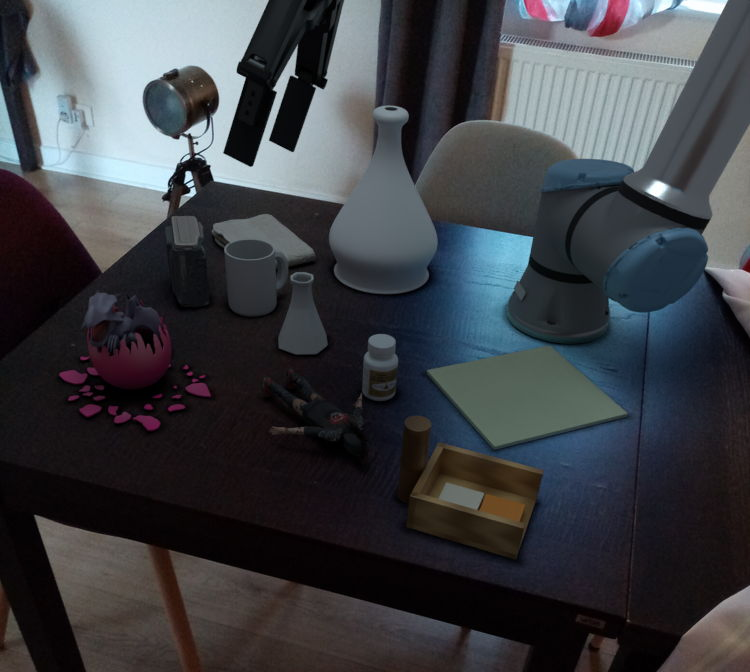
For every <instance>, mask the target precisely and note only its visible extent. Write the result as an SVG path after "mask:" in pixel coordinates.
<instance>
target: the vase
mask: <svg viewBox="0 0 750 672" xmlns="http://www.w3.org/2000/svg"><path fill="white" fill-rule="evenodd" d="M409 118H410V115H409V112H408V111H407V110H406V109H405V108H403V107H401V106H397V105H382V106H378V107H376V108H374V110H373V112H372V119H373V121H374V122H375V123H376V124H377V131H378V133H377V140H376V145H375V148H374V152H373V155H372V157H371V160H370V162H369V164H368V165H367V168H366V169H365V171H364V172H363V175H362V176H361V178H360V179H359V180H358V182H357V184H356V186H355V187H354V188H353V190H352V191H351V193H350V195H349V196H348V198H347V199H346V201H345V203H344V204H343V206H342V207H341V209H340V210H339V212H338V214H337V215H336V217H335V218H334V220H333V223H332V225H331V227H330V230H329V232H328V243H329V247H330V251H331V252H332V254H333V257H334V258H335V260H336V263H335V264H334V267H333V273H334V276H335V277H336V279H337V280H338V281H339V282H341V283H342V284H344V285H345V286H347V287H349V288H351V289H355V290H357V291H360V292H364V293H370V294H379V295H394V294H395V295H397V294H403V293H408V292H412V291H415V290H417V289H418V288H421V287H422V286H423V285H425V284H426V283H427V282H428V280H429V276H430V273H429V270H428V266H429V265H430V263H431V261H432V260H433V259H434V257H435V255H436V253H437V250H438V245H439V244H438V243H439V242H438V234H437V231H436V227H435V225H434V223H433V221H432V219H431V216H430V214H429V212H428V209H427V208H426V206H425V203H424V202H423V200H422V198H421V196H420V193H419V192H418V189H417V188H416V184H415V183H414V181H413V179H412V177H411V174H410V173H409V170H408V166H407V164H406V162H405V158H404V154H403V149H402V147H403V146H402V129H403V126H404V125H405V124H407V123H408V122H409Z"/></svg>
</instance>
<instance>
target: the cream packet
mask: <svg viewBox="0 0 750 672" xmlns="http://www.w3.org/2000/svg"><path fill="white" fill-rule="evenodd" d="M483 498H484V493H482V492H479V491H475V490H472V489H468V488H465V487H461V486H457V485H454V484H450V483H446V484H445V486H444V488H443V490H442V492H441V494H440V496H439V498H438V499H441V500H444V501H448V502H451V503H455V504H458V505H462V506H465V507H469V508H472V509H476V510H479V509H480V507H481V504H482V502H483Z"/></svg>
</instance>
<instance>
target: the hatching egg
mask: <svg viewBox="0 0 750 672" xmlns="http://www.w3.org/2000/svg"><path fill="white" fill-rule="evenodd" d="M122 296H123V295H122V294H120V293H116V294H108V293H106V292H100V291H99V290H95V293H94V295H92V296H90V297H89V299H88V309H87V310H86V313H85V315H84V319H83V323H82V324H81V326H80V330H83V329H85V328H87V333H86V339H87V349H88V350H87V351H88V356H80V360H81V361H88V360H89V359H90V362H91V364H92V366H93V367H87V368H86V371H87V372H85V373H80V372H78V371H77V370H76V369H72V370H66V371H61V372H59V374H58V375H59V377H60V378H61V379H62V380H63V381H64V382H66V383H68V384H71V385H74V386H75V385H76V386H77V385H83V384H84V383H85V382H86V381H87V378H88V376H89V375H90V376H96V377H97V376H99V377H101V379H103V380H104V381H105V382H107V383H108V384H109V385H112V386H114V387H115V388H119V389H122V390H123V389H124V390H132V391H133V390H140V389H145V388H148V387H150V386H153V385H154V384H156V383H157V382H158V381H160V380H161V379H162V378H163V377H164V375H165V374H166V372H167V371H168V369H169V368H170V367H171V366H172V364H170V363H171V359H172V344H171V339H170V338H171V337H170V335H169V332H168V328H167V325H166V323H165V321H164V319H163V317H162V316H161V317H160V315H159V313H158V311H156V310H155V309H154V308H153V307H151V306H150V307H145V306H144V303H143V302H142V300H139V298H138V296H137V295H136V294H134V295H133V296H131V295H130V294H128V293H126V299H125V302H126V303H125V304H126V306H125V313H124V312H123V311H120V310H119V308H118V306H119V304H118V301H119V300H120V298H121V297H122ZM182 369H183V370H188V369H189V366H188V365H187V364H185V365H184V367H182ZM87 373H88V374H87ZM193 375H194V373H193V371H189V372H187V373H186V376H188V377H191V376H193ZM205 377H206V375H205V374H203V375H201V376H199V379H205ZM199 379H196V378H192V380H191V382H192V383H191V384H188V385H187V386H185V391H186V392H187V393H188V394H190V395H194V396H197V397H202V398H212V395H211V393H210V390H209V388H208V386H207V384H206V383H204V382H199ZM177 388H178V386H177V385H174V386H173V389H175V390H176V389H177ZM94 389H96V390H99V391H103V390H105V385H102V384H101V385H94ZM90 391H91V386H90V385H84V386H83V387H82V388H81V389H79V390H78V392H79V393H82V396H86V397H91V396H92V395H94V392H90ZM162 397H163V394H162V393H159V394H157V395H154V396H151V398H152V399H160V398H162ZM79 398H80V396H79V395H71V396H69V397H68V399H67V401H68V402H73V401H76V400H78V399H79ZM171 398H172V399H177V400H179V399H181V398H182V394H176V395H173V396H171ZM105 399H106V396H105V395H97V396H93V400H94V401H95V402H99V401H103V400H105ZM102 409H103V408H102V406H100V405H96V404H94V403H93V404H92V403H89V404H86V405H84V406H83V407H81V408H79V413H80V414H81V415H82V416H84V417H85V418H91V417H93V416H94V415H97V414H99V413H101V412H102ZM143 409H144V410H146V411H152V410H154V407H153V406H152V404H150V403H146V404H145V405H144V406H143ZM185 409H186V406H185V405H184V404H180V403H177V404H173V405H170V406H169V407H168V408H167V411H168V412H170V413H171V412H175V411H181V410H185ZM118 410H119V405H114V406H113V405H109V406H108V408H107V411H108V413H109V415H111V416H114V420H113V423H115V424H123V423H127V422H128V421H130V420H131V419H132V420H133V421H136V422H138V423H140V424H142V426H143V428H145V429H146V431H147V432H154V431H157V430H158V429H159V428H160V426H161V421H160V420H158V419H157V418H155V417H153V416H151V415H142V414H138V415H137V416H135V417H132V414H130V413H128V412H126V411H123V412H122V414H119V415H118V414H117V411H118Z"/></svg>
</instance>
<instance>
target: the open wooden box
mask: <svg viewBox="0 0 750 672" xmlns="http://www.w3.org/2000/svg"><path fill="white" fill-rule="evenodd" d="M431 431H432V422H431V420H430V419H429V418H427V417H426V416H422V415H417V414H415V415H410V416H408V417H406V419H405V420H404V423H403V432H402V442H401V443H402V444H401V452H400V453H401V454H400V464H399V465H400V466H399V475H398V485H397V498H398V500H399V501H401V502H402V503H404V504H407V505H408V509H407V510H408V511H407V520H406V528H408V529H411V530H414V531H418V532H421V533H425V534H428V535H432V536H436V537H438V538H442V539H445V540H448V541H452V542H456V543H459V544H462V545H465V546H468V547H472V548H475V549H478V550H481V551H485V552H488V553H492V554H496V555H499V556H502V557H505V558H509V559H512V560H517V558H518V556H519V553H520V549H521V547H522V543H523V541H524V538H525V535H526V532H527V529H528V526H529V525H530V524H529V523H530V520H531V518H532V515H533V512H534V508H535V506H536V503H537V499H538V495H539V491H540V488H541V487H540V486H541V484H542V480H543V476H544V472H545V470H544V469H541V468H537V467H534V466H529V465H526V464H523V463H522V464H521V463H518V462H515V461H512V460H508V459H503V458H500V457H496V456H492V455H489V454H485V453H481V452H477V451H474V450H469V449H466V448H462V447H459V446H455V445H451V444H447V443H443V442H440V441H438V442H437V444H436V446H435V448H434V450H433V452H432V453H431V455H430V457H429V456H428V455H429V448H430V438H431V433H432V432H431ZM428 457H429V459H428ZM446 483H450V484H454V485H457V486H461V487H465V488H468V489H472V490H475V491H479V492H482V493H484V498H485V496H486V494H490V495H493V496H497V497H500V498H504V499H507V500H511V501H515V502H518V503H522V504H525V505H526V506H525V510H524V513H523V516H522V519H521V522H518V521H514V520H511V519H507V518H504V517H500V516H497V515H493V514H490V513H486V512H483V511H479V510H480V509H479V510H476V509H472V508H469V507H465V506H462V505H458V504H455V503H451V502H448V501H444V500H441V499H438V498H439V496H440V494H441V492H442V490H443V488H444V486H445V484H446ZM484 498H483V500H484ZM482 503H483V502H482ZM481 505H482V504H481ZM480 508H481V507H480Z"/></svg>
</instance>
